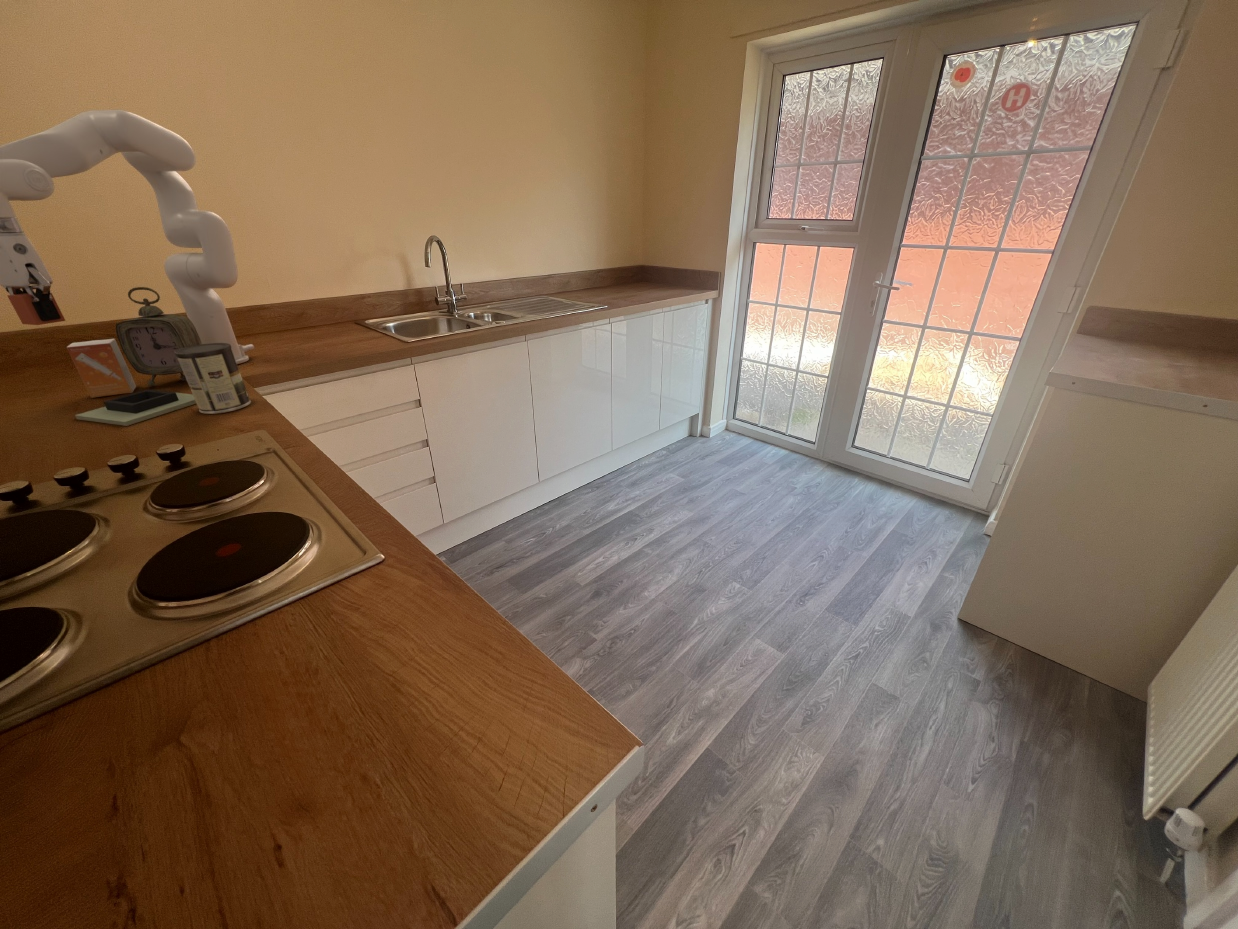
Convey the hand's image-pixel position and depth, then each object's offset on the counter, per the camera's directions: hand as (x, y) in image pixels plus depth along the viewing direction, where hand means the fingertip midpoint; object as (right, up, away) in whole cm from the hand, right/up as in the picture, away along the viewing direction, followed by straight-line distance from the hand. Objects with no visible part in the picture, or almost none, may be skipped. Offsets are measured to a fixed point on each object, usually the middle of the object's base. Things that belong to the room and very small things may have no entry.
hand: (42, 318), depth 110 cm
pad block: (0, -1, 0) cm, 1 cm away
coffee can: (+33, -18, +9) cm, 39 cm away
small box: (-5, -14, +20) cm, 25 cm away
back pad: (+14, -19, +9) cm, 25 cm away
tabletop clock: (+6, -10, +28) cm, 30 cm away
